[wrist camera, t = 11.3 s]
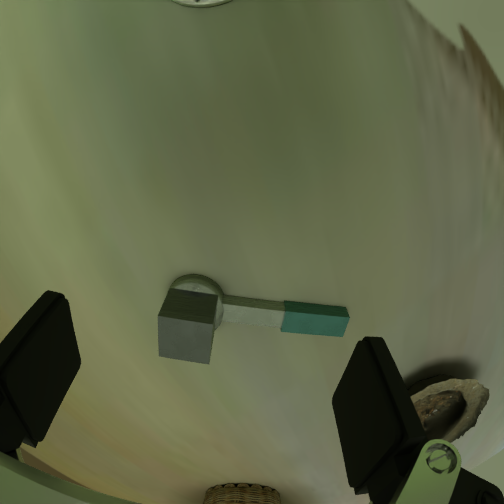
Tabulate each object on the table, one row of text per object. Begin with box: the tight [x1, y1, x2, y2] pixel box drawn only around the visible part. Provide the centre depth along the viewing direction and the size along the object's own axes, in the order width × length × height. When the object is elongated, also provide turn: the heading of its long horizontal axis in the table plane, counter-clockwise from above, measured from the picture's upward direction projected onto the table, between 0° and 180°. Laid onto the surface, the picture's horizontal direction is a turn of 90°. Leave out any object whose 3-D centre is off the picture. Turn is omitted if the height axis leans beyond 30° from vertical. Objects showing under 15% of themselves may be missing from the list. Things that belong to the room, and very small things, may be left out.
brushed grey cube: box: [158, 288, 218, 364], centre depth 38 cm, size 6×6×6 cm
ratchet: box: [170, 274, 350, 337], centre depth 41 cm, size 8×25×7 cm, turn 82°
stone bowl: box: [407, 375, 489, 443], centre depth 51 cm, size 25×25×9 cm
